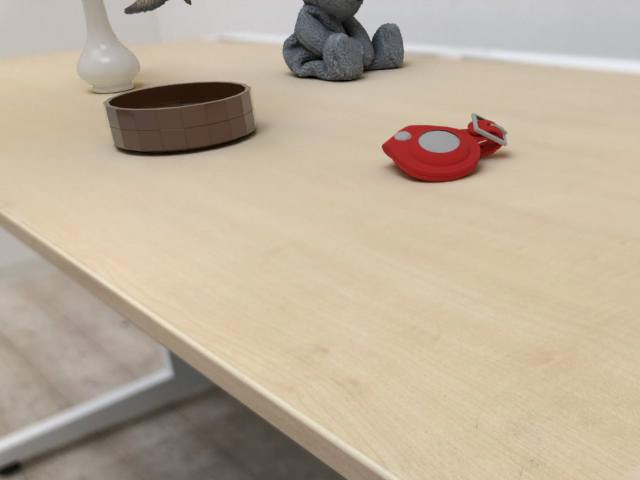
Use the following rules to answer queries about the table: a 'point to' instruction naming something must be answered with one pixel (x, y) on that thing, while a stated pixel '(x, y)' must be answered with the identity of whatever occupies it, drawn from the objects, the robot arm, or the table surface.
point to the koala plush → (339, 42)
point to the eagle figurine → (146, 6)
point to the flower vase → (105, 54)
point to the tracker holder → (444, 148)
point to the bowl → (180, 116)
